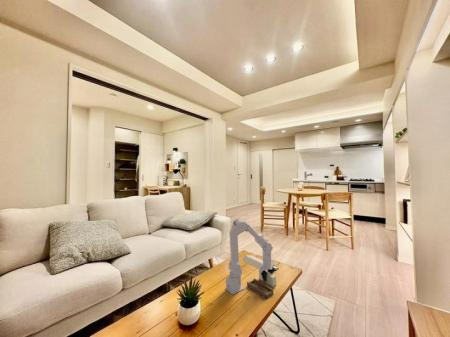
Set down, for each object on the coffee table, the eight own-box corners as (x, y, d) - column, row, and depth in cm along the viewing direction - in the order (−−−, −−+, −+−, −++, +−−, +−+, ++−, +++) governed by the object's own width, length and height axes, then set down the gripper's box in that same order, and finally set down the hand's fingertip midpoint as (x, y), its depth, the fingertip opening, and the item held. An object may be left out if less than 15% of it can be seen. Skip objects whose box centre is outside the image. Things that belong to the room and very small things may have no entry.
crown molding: (279, 269, 146) (278, 264, 146) (269, 274, 139) (269, 270, 139) (251, 256, 169) (251, 252, 169) (241, 261, 161) (241, 256, 161)
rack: (265, 298, 112) (265, 294, 112) (247, 286, 125) (246, 282, 125) (273, 294, 116) (273, 289, 116) (254, 282, 129) (254, 278, 129)
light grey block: (272, 287, 124) (272, 277, 124) (259, 278, 133) (258, 270, 133) (276, 285, 126) (276, 275, 126) (262, 277, 135) (262, 268, 135)
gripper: (264, 265, 122) (264, 286, 122) (278, 258, 131) (278, 278, 131) (256, 261, 128) (256, 281, 127) (270, 255, 136) (270, 274, 136)
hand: (267, 279), depth 129 cm, fingers open, 5 cm apart
